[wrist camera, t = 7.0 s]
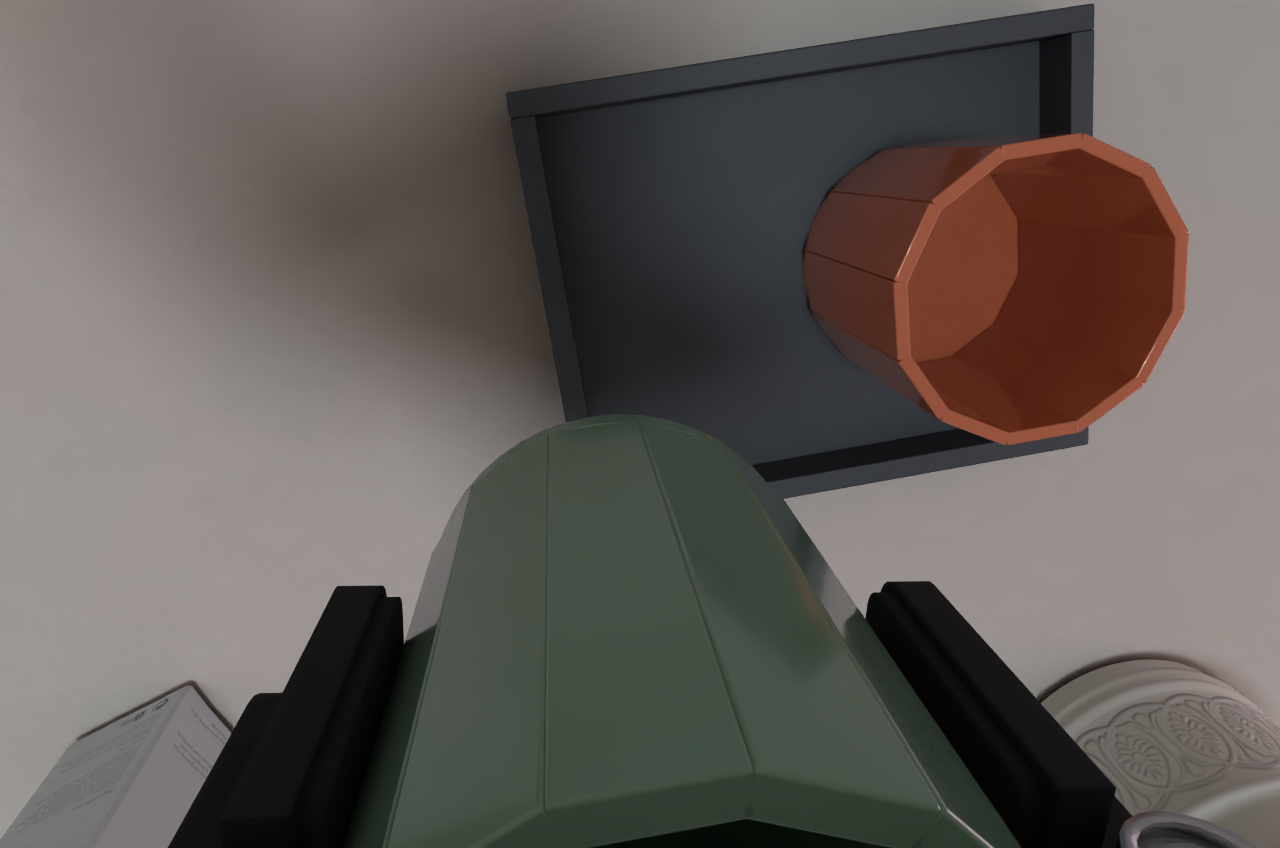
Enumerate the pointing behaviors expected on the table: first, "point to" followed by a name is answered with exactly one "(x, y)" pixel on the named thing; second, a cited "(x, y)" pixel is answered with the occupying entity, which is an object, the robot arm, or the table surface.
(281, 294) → the table surface
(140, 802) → the cosmetic box
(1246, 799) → the jar
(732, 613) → the sage cup
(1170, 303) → the terracotta cup
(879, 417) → the tray
